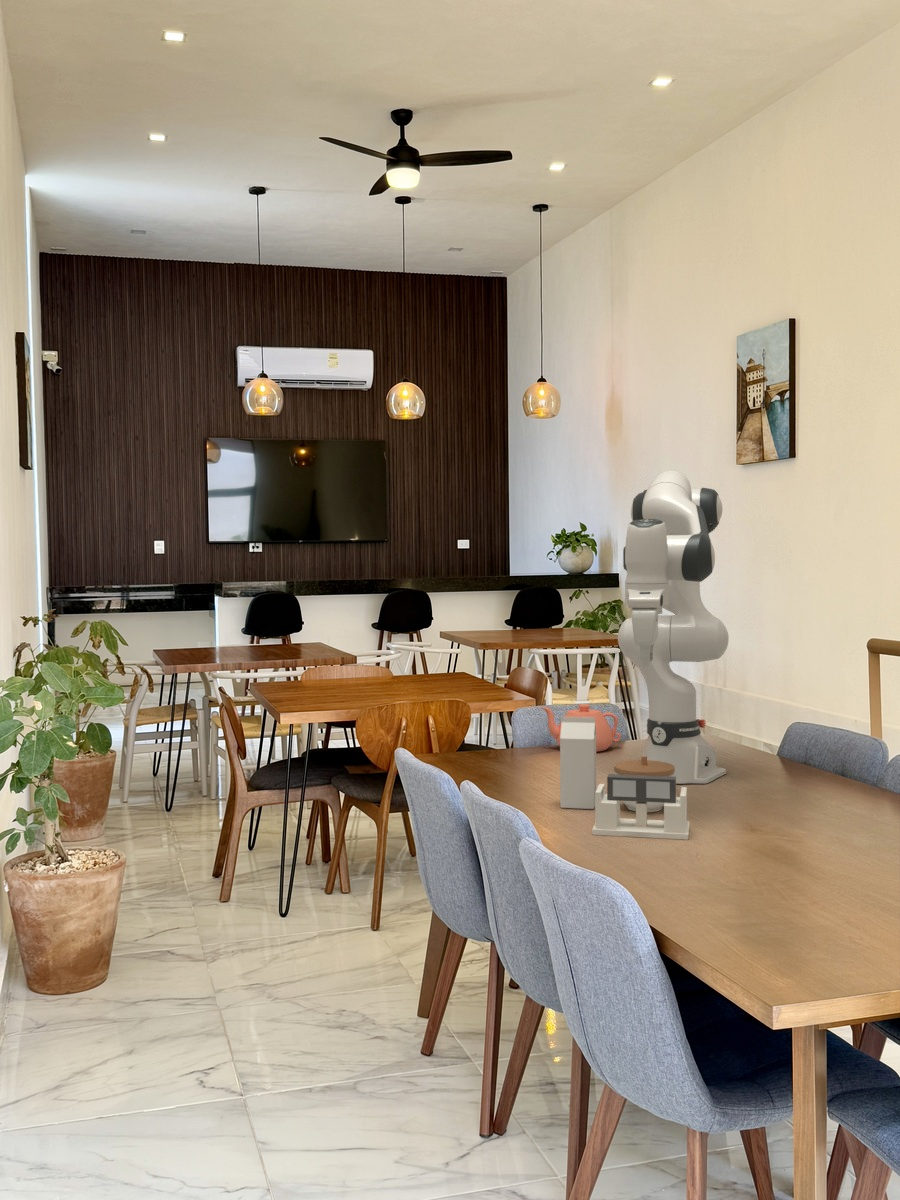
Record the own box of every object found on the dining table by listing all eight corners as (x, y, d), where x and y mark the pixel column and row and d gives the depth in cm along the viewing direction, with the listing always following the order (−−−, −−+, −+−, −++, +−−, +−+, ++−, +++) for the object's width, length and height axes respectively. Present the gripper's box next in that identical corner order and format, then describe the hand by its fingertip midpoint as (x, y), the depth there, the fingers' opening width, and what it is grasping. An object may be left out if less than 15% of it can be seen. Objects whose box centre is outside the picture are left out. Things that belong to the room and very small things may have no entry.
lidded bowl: (638, 818, 221) (638, 764, 220) (602, 805, 232) (602, 754, 231) (687, 811, 227) (687, 758, 226) (649, 799, 238) (649, 749, 237)
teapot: (543, 755, 291) (543, 708, 291) (538, 744, 307) (538, 701, 306) (625, 754, 291) (625, 708, 291) (616, 744, 307) (616, 700, 306)
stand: (592, 834, 208) (592, 793, 208) (597, 822, 218) (597, 782, 218) (688, 839, 204) (688, 797, 204) (689, 826, 214) (689, 786, 213)
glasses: (607, 800, 211) (607, 777, 211) (608, 796, 214) (608, 773, 214) (675, 803, 208) (675, 779, 208) (676, 799, 211) (676, 776, 211)
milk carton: (594, 809, 228) (593, 720, 228) (560, 808, 230) (559, 719, 229) (596, 802, 235) (596, 715, 235) (563, 801, 237) (563, 714, 236)
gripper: (635, 595, 235) (635, 658, 236) (627, 599, 215) (627, 669, 216) (664, 595, 234) (664, 659, 234) (659, 599, 214) (659, 669, 215)
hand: (646, 664), depth 225 cm, fingers open, 8 cm apart
